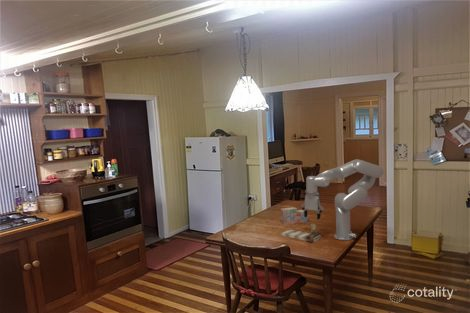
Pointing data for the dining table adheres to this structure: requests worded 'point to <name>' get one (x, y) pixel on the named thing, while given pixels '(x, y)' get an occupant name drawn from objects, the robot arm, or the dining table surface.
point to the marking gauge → (312, 233)
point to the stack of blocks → (292, 216)
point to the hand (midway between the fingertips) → (312, 217)
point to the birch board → (299, 235)
